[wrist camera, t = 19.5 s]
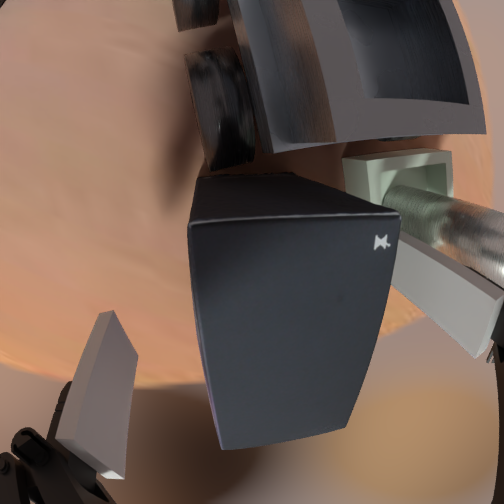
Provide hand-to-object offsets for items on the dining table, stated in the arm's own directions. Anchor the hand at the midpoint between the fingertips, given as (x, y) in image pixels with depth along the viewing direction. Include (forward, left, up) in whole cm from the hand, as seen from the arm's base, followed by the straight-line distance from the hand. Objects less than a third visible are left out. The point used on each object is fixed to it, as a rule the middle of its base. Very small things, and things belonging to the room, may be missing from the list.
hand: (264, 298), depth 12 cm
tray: (0, +12, -6) cm, 13 cm away
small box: (0, 0, -7) cm, 7 cm away
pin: (0, +12, -5) cm, 13 cm away
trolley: (-12, +5, -6) cm, 15 cm away
